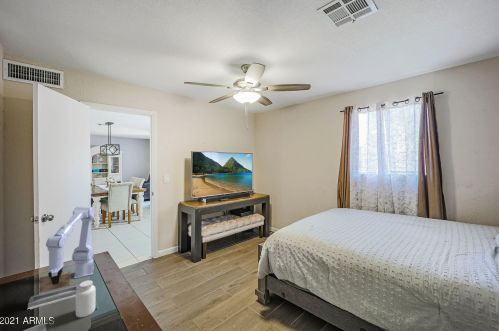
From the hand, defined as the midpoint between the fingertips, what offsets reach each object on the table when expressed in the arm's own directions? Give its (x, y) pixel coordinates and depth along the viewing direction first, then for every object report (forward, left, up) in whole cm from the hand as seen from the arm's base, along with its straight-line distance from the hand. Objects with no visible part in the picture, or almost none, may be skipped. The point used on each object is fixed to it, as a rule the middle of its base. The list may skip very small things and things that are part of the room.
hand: (55, 282), depth 114 cm
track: (0, 0, -9) cm, 9 cm away
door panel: (0, 0, -3) cm, 3 cm away
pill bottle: (-13, +20, -9) cm, 26 cm away
